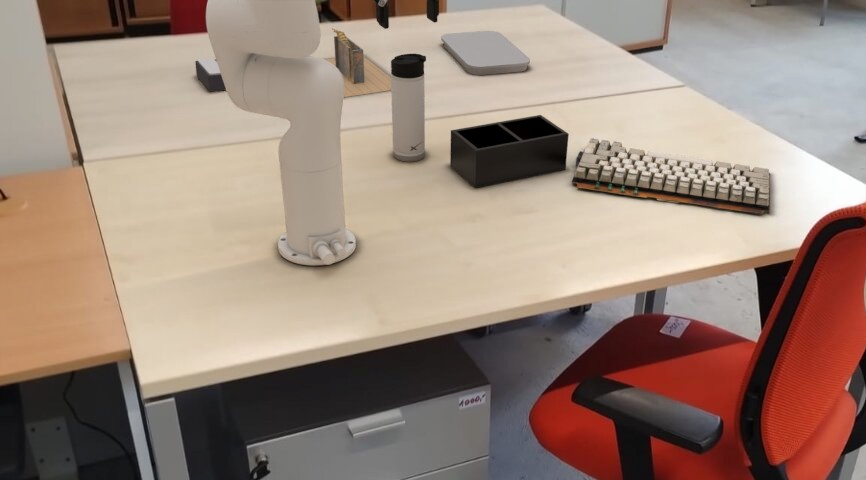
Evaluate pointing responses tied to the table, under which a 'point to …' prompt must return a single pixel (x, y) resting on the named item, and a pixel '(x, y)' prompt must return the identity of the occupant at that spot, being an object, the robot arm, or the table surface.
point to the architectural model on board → (357, 68)
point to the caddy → (508, 150)
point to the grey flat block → (485, 52)
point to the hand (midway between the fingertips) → (408, 23)
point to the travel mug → (408, 107)
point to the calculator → (210, 74)
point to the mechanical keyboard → (672, 177)
